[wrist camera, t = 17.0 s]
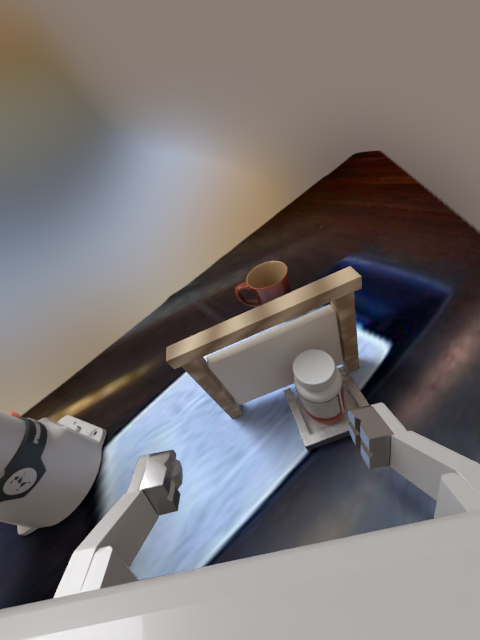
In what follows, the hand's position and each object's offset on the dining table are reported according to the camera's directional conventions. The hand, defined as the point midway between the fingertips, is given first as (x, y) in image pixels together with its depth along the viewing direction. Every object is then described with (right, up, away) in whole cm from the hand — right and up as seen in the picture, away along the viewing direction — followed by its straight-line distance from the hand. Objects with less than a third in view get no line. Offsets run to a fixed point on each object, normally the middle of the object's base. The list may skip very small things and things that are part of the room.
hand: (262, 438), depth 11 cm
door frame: (+8, -6, +31) cm, 32 cm away
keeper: (+12, -8, +27) cm, 31 cm away
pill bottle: (+12, -8, +27) cm, 30 cm away
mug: (+6, +7, +45) cm, 47 cm away
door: (+7, -4, +30) cm, 31 cm away
